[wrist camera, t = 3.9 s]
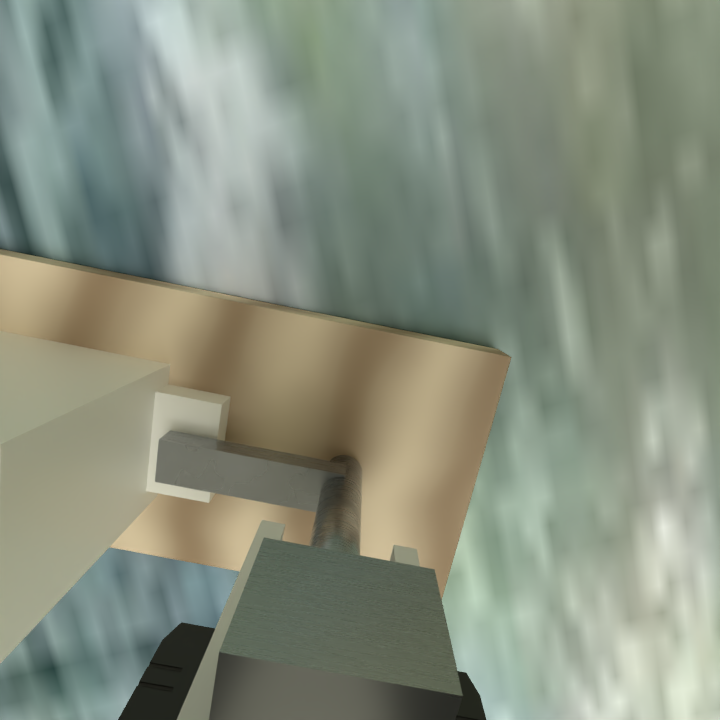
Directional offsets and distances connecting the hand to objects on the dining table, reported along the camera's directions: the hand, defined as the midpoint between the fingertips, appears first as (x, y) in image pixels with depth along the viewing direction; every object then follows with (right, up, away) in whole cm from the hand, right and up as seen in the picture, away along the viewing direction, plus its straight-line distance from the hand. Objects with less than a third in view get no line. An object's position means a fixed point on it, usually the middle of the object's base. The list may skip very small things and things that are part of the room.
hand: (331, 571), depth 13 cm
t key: (-3, +2, +6) cm, 7 cm away
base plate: (-6, +3, +9) cm, 11 cm away
